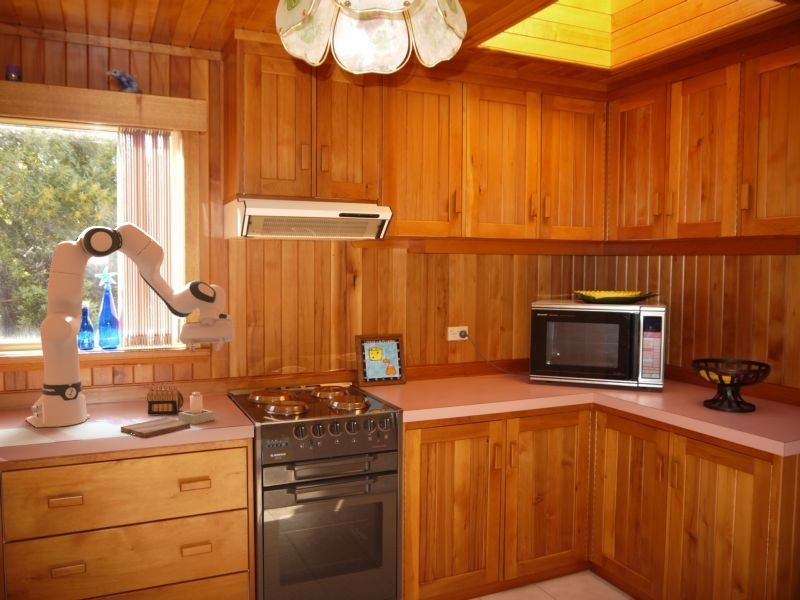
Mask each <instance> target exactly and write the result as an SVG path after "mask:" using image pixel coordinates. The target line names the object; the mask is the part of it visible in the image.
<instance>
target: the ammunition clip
mask: <svg viewBox="0 0 800 600" xmlns="http://www.w3.org/2000/svg"><path fill="white" fill-rule="evenodd" d="M157 388H159V393H158V391H157ZM162 388H164V392H162ZM167 388H168V392H167ZM177 388H178V386H177V383H176V381H174V383H173V385H172V382H171V381H169V383H168V385H167V382H166V381H164V384H163V385H162V382H159V383H158V384H157V382H156V381H155V382H154V384H153V385H152V382H151V381H150V382H149V384H148V393H149V394H148V393H147V395H148V400H149V401H147V415H148V414H159V415H177V414H178V415H179V410H178V400H177V390H178V389H177ZM153 389H154V393H153ZM172 389H173V393H172ZM153 404H154V409H153ZM158 408H159V410H158Z"/></svg>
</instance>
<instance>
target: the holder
mask: <svg viewBox="0 0 800 600" xmlns="http://www.w3.org/2000/svg"><path fill="white" fill-rule="evenodd" d="M178 412H179V411H178ZM202 412H203V413H201V414H196V415H193V414H190V409H189V410H185V411H180V412H179V413H178V420H179V421H183V422H188V423H190V425H199V424H202V423H206V421H207V422H210V420H211V421H214V419H215V412H214V411H213V410H209V409H204V408H202Z"/></svg>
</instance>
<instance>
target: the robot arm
mask: <svg viewBox="0 0 800 600" xmlns="http://www.w3.org/2000/svg"><path fill="white" fill-rule="evenodd" d="M54 248H55V249H54V252H53V255H52V259H51V263H50V269H49V276H48V285H47V293H46V295H47V309H46V312H47V313H46V317H45V318H44V319H43V320H42V322H41V324H40V329H39V331H40V333H39V334H40V341H41V349H42V351H41V352H42V355H43V367H44V368H43V370H44V371H43V373H44V374H43V375H44V376H43V377H44V383H43V384H42V388H41V389H42V391H41V393H42V395H41V396H39V398H38V399H37V401H35V403H33V406H31V407H30V411H31V413H32V414H33V415H31V416H27V417H26V419H25V420H27V421H26V422H27V423H29V424H30V425H31V426H33V427H34V426H35V427H34V428H44V427H45V428H46V427H47V428H48V427H54V428H55V427H64V426H65V427H66V426H73V425H77V424H80V423H81V424H82V423H84V422H85V421H86V420H88V419H90V418H91V414H88V411H87V410H88V409H87V402H86V396H85V395H84V394H83V393H82V389H83V388H82V387H83V385H82V381H81V374H80V373H81V372H80V370H81V369H80V368H81V367H80V365H81V364H80V355H79V354H80V353H79V346H78V335H79V333H80V331H81V326H82V313H83V297H84V296H83V294H84V285H85V278H86V268H87V264H88V262H89V260H90V259H91V258H93V257H94V258H103V257H107V256H110V255H111V254H113V253H115V252H116V251H118V252H121V254H123V255H125V256H126V257H127V258H128V259H130V260H131V262H133V263H134V264H135V266H136V267H137V269H138V273H139V275H140V277H141V278H142V280H143V281H144V282H145V283H146V284H147V285H148V287H150V289H151V290H152V291H153V292H154V293H155V294H156V295H157V296H158V297H159V298H160V300H162V301H163V303H164V304H165V305H166V307H167V309H168V310H169V311H170V313H171V314H173V315H174V316H176V317H179V318H187V317H188V316H190V315H191V314H192V313H193V312H194V311H196V310H197V309H199V315H198V319H197V321H192V322H191V321H188V322H186V323H184V324H183V325H182V327H181V331H180V334H179V336H178V337H179V341H180V343H182V344H183V345H189V349H188V350H189V352H190V353H195V351H196V348H195V345H194V344H209V343H213V344H214V343H216V344H214V351H215V352H218V351H221V348H222V346H224V344H225V343H226V342H233V341H234V340H235V336H236V331H235V330H236V329H235V328H234V327H235V325H234V321H233V318H232V316H231V315H230V314H228V313H224V311H225V307H226V301H227V300H226V299H227V297H226V291H225V290H224V288H223V287H222V286H220V285H218V284H208V283H206V282H204V281H202V280H199V279H194V280H192V281H190V282H188V283H187V284H186V285H184V286H183V287H182V288H180V289H179V290H175V289H173V287H172V286H170V285H169V283H168V282H167V281H166V280H165V279H164V277H162V275H161V271H160V270H161V267H162V264H163V261H164V258H165V253H164V249H163V247H162V245H161V244H160V243H159V242H158V241H157V240H155V238H153V237H152V236H151V235H149V233H147V232H145V231H144V230H143V229H141V227H138V226H137V225H135V224H133V223H131V222H124V223H120V224H119V225H118V226H117V227H116V228H110V227H106V226H101V225H91V226H89V227H87V228H86V229H84V230H83V231H82V232H81V233H80V234H79V235H78V237H77V238H76V239H75V240H74V241H73V240H66V241H62V242H60V243H58V244H57V245H56V246H55V247H54Z"/></svg>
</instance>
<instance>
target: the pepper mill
mask: <svg viewBox="0 0 800 600" xmlns="http://www.w3.org/2000/svg"><path fill="white" fill-rule="evenodd" d="M202 409H203V394H201V392H199V391H192V392H191V395H189V410H190V414H193V415H196V414H201V413H203V412H202Z"/></svg>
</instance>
